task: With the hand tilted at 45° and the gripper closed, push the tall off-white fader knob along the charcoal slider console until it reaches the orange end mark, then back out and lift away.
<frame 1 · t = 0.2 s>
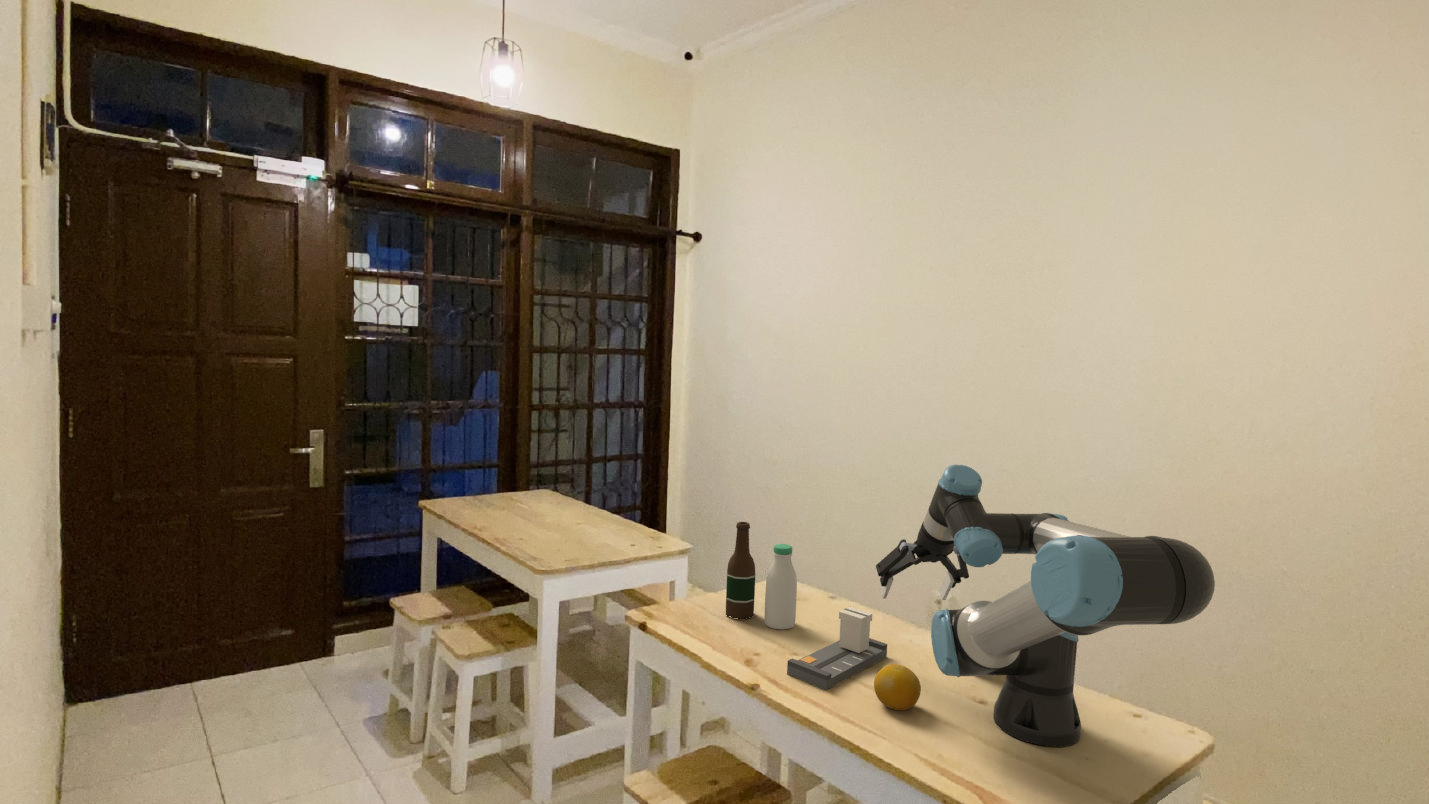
hand: (912, 594, 169), 16 cm above the table, tool tilted 35°, fingers open, 13 cm apart
white cup: (974, 669, 168), on the table
milk bottle: (779, 625, 190), on the table
fader knob: (854, 629, 171), point 6 cm above the table, slide at 0.0 cm
slider console: (838, 665, 167), on the table
beer bottle: (739, 615, 195), on the table
fruit: (896, 707, 149), on the table
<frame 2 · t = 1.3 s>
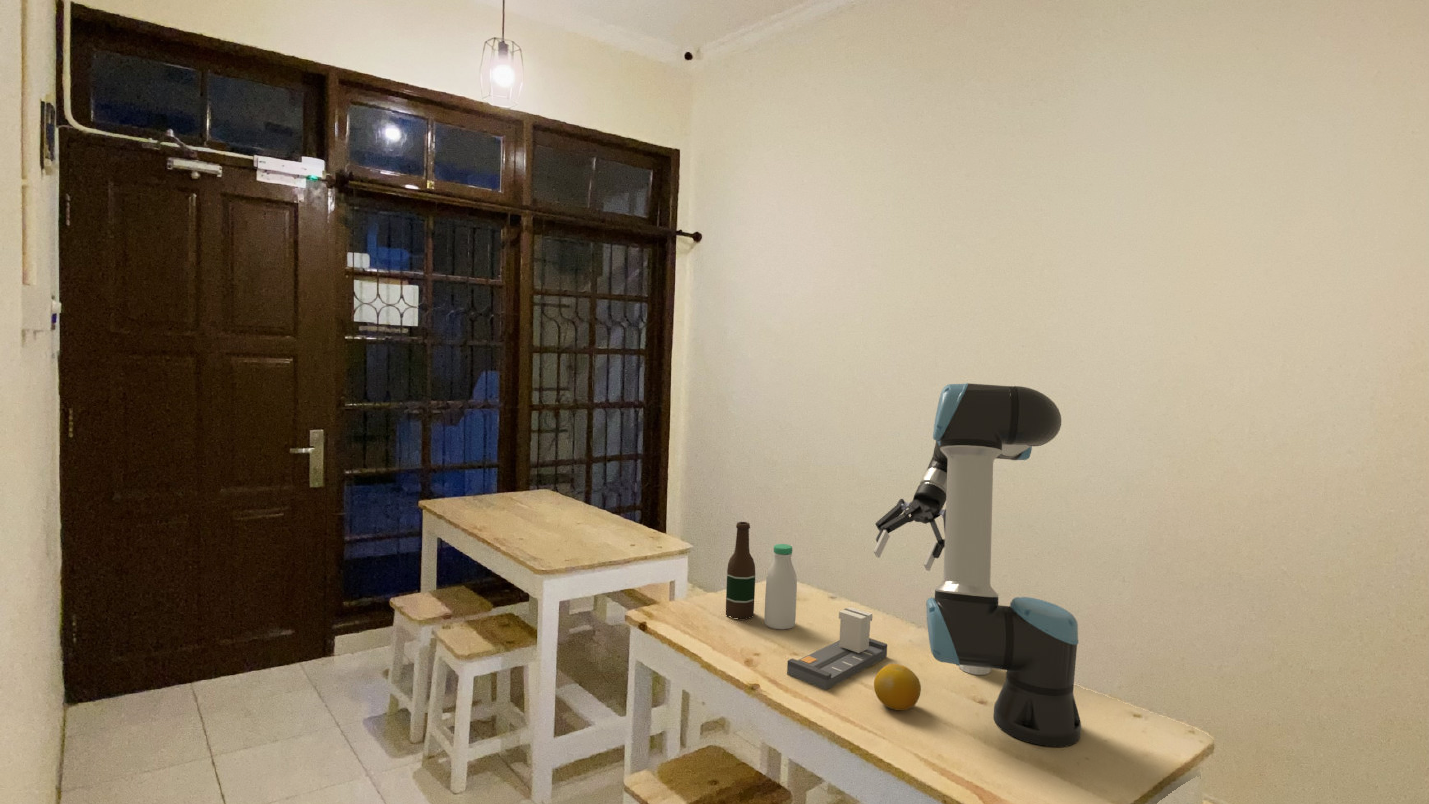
hand: (900, 560, 184), 18 cm above the table, tool tilted 45°, fingers open, 13 cm apart
nothing on the table moved.
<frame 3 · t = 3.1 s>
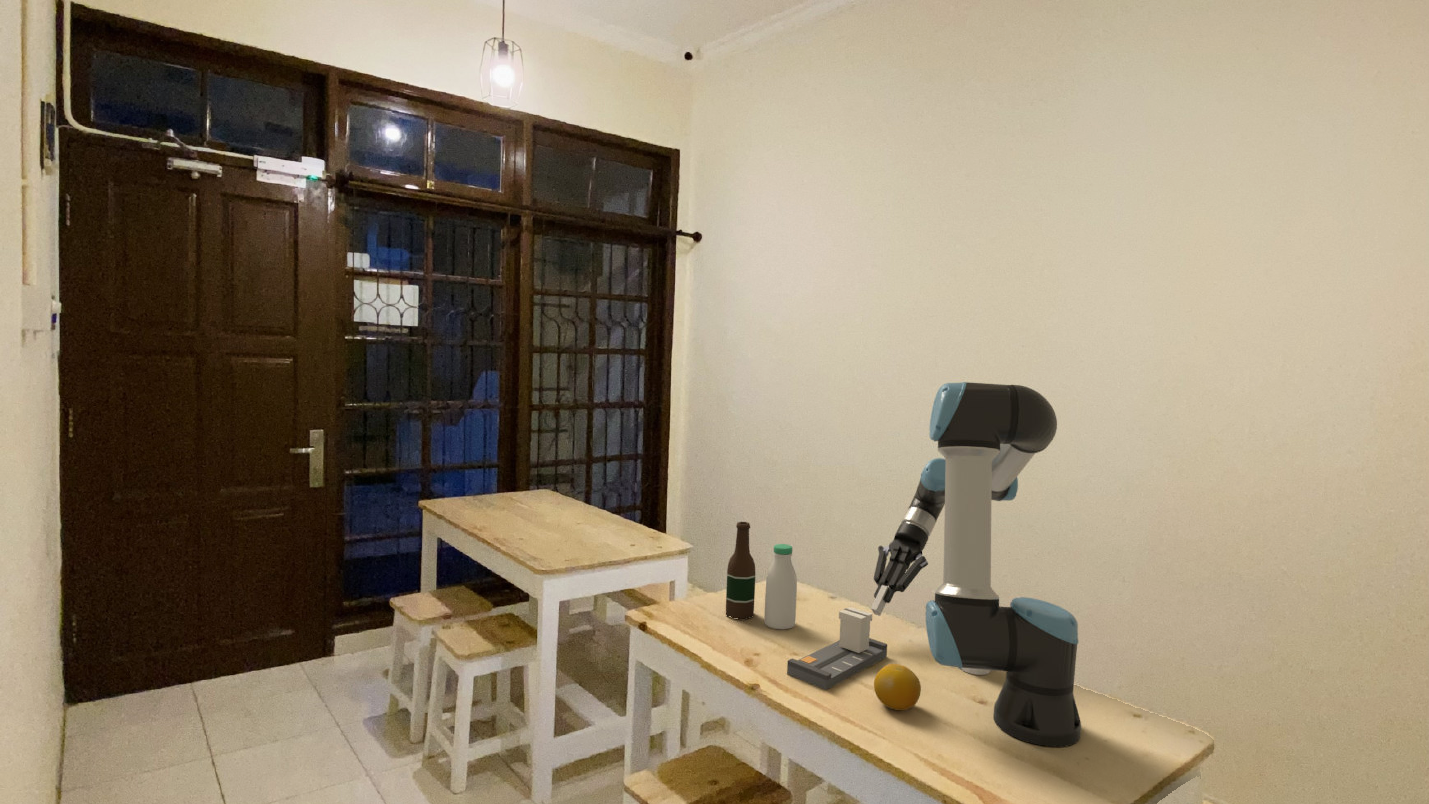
hand: (875, 612, 178), 8 cm above the table, tool tilted 45°, fingers closed
nothing on the table moved.
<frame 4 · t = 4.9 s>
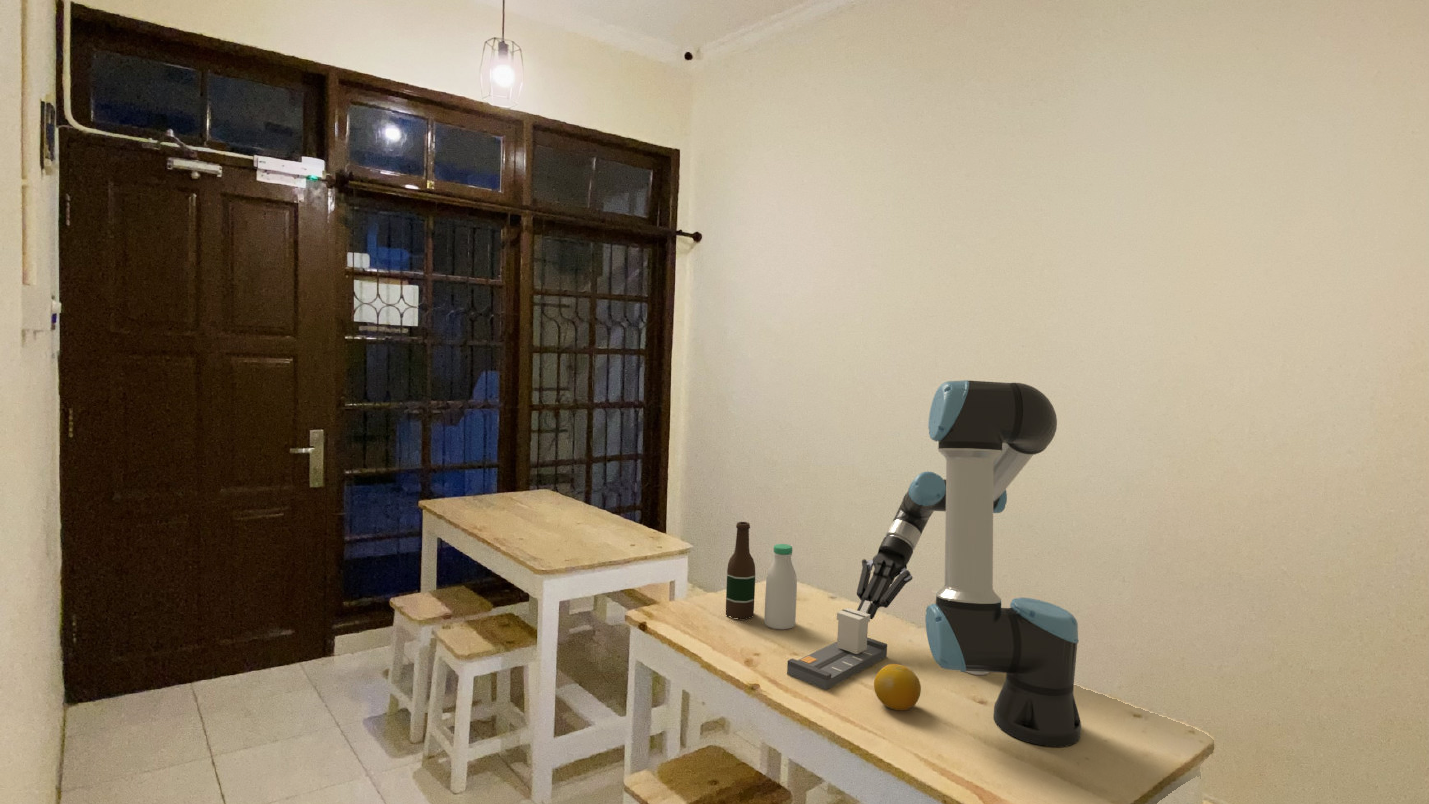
hand: (858, 628, 173), 6 cm above the table, tool tilted 45°, fingers closed
fader knob: (852, 630, 170), point 6 cm above the table, slide at 0.9 cm, touching gripper
everything else where it was.
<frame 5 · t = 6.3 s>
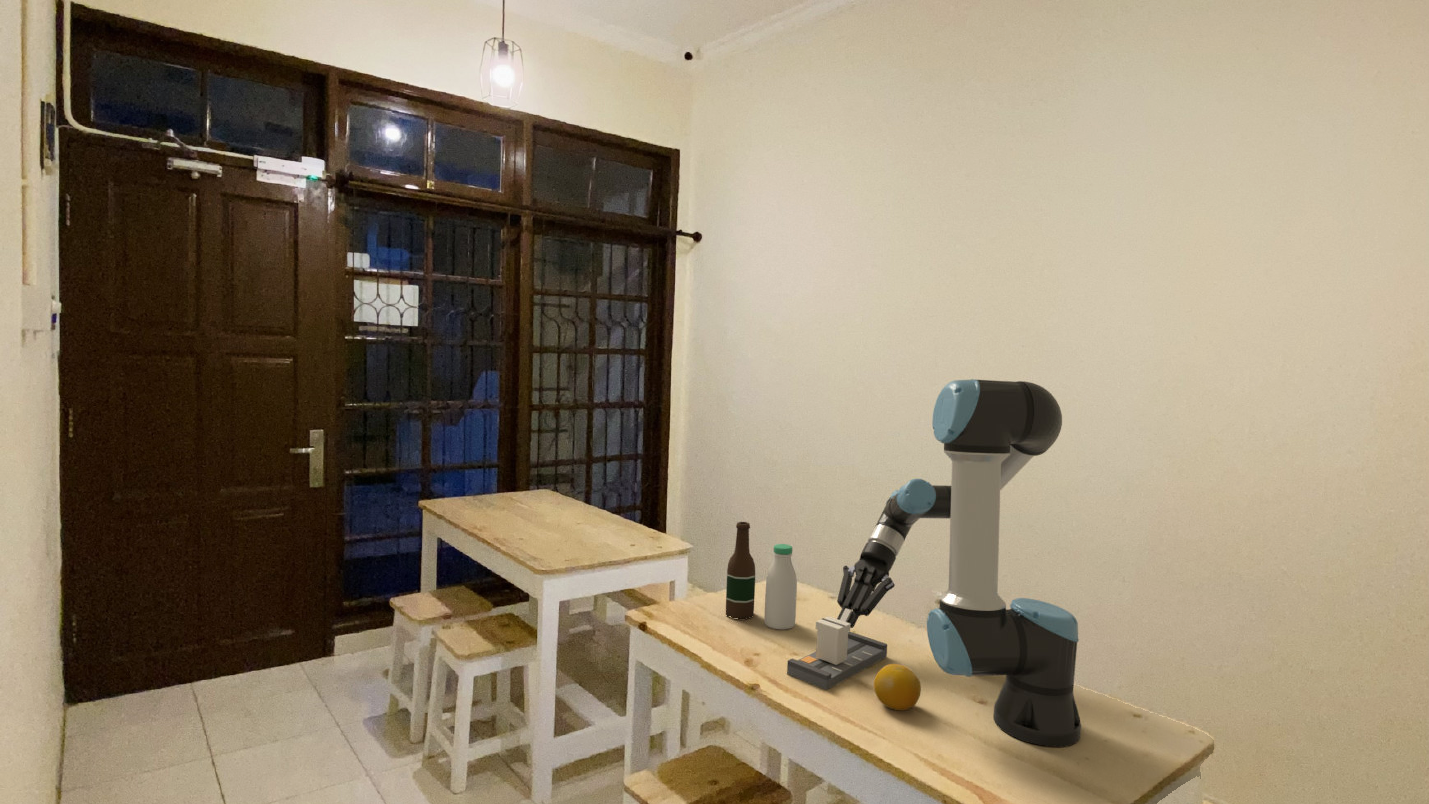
hand: (837, 637, 167), 6 cm above the table, tool tilted 45°, fingers closed
fader knob: (832, 640, 164), point 6 cm above the table, slide at 9.0 cm, touching gripper
everything else where it was.
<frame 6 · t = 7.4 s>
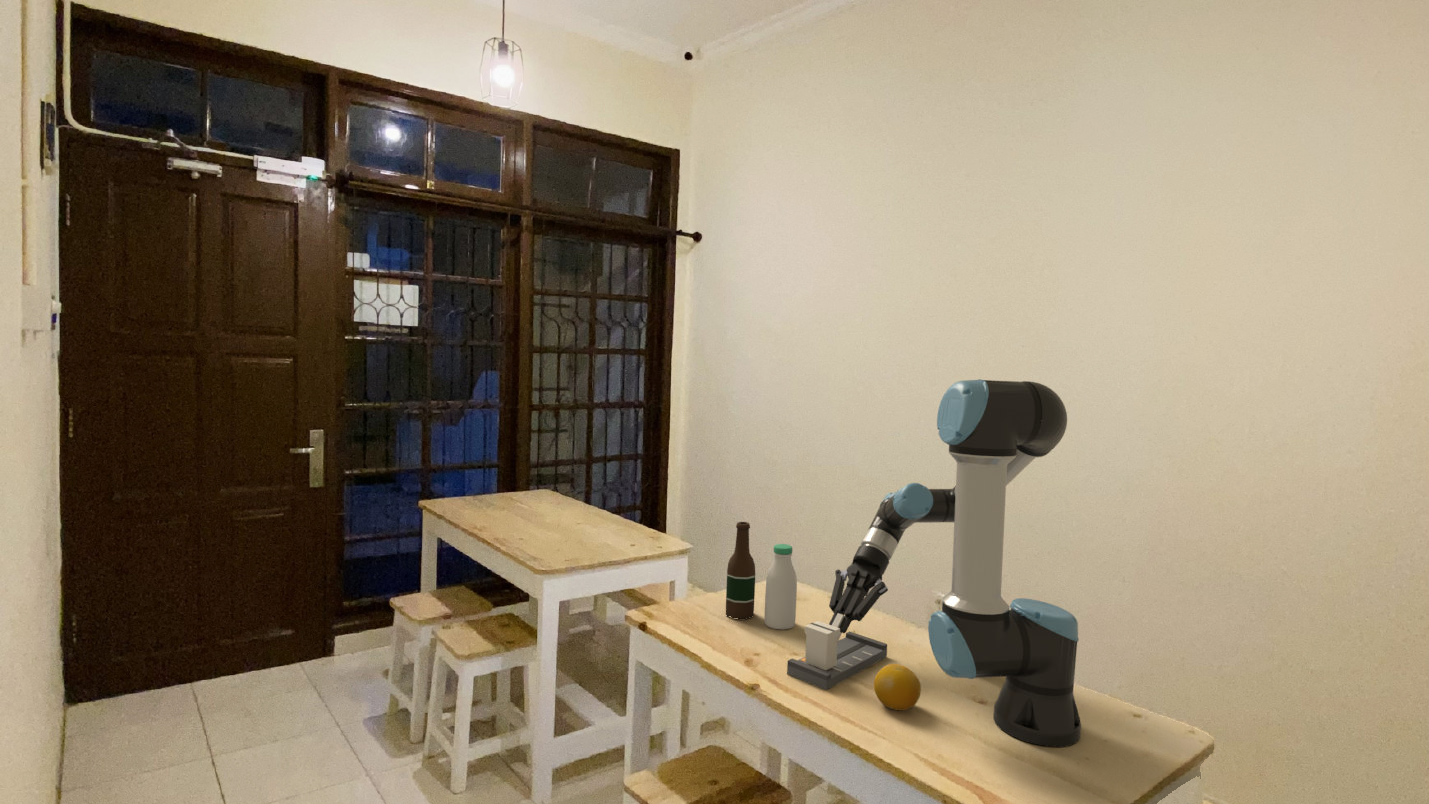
hand: (829, 643, 164), 6 cm above the table, tool tilted 45°, fingers closed
fader knob: (821, 645, 161), point 6 cm above the table, slide at 13.0 cm, touching gripper
everything else where it was.
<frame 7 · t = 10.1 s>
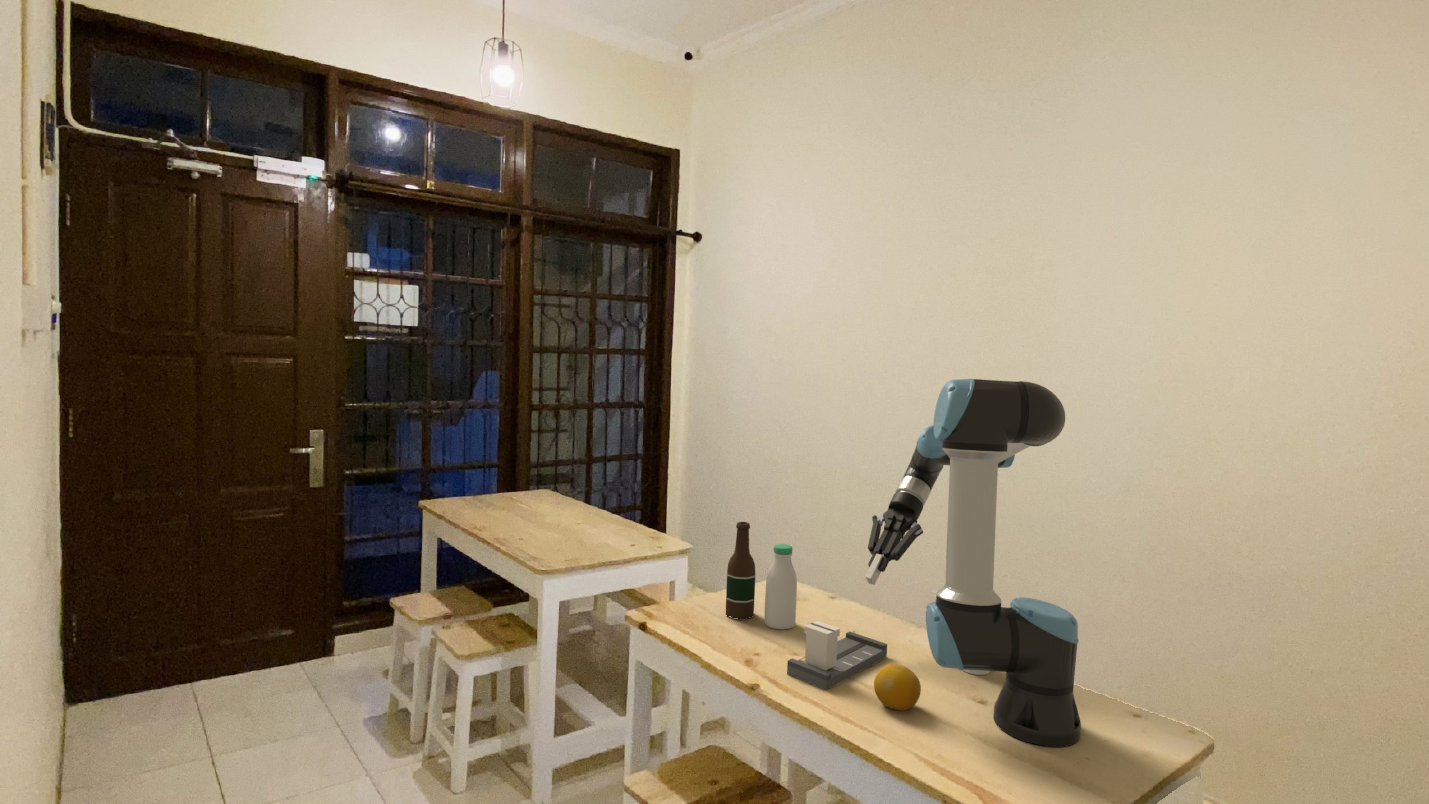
hand: (869, 580, 174), 17 cm above the table, tool tilted 45°, fingers closed
fader knob: (821, 645, 161), point 6 cm above the table, slide at 13.0 cm
everything else where it was.
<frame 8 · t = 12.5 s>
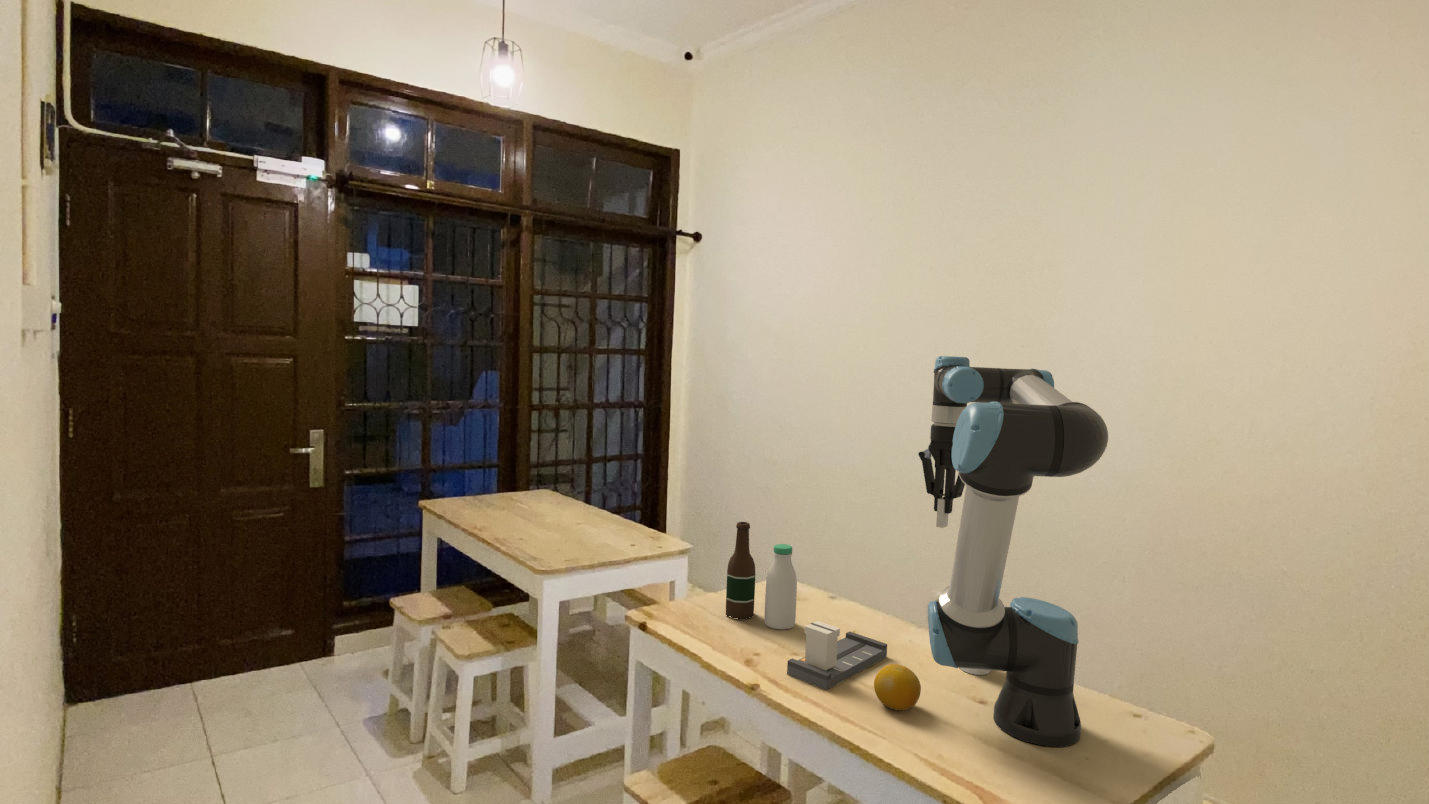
hand: (941, 526, 175), 29 cm above the table, tool pointing down, fingers closed
nothing on the table moved.
at the end: fader knob slide at 13.0 cm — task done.
